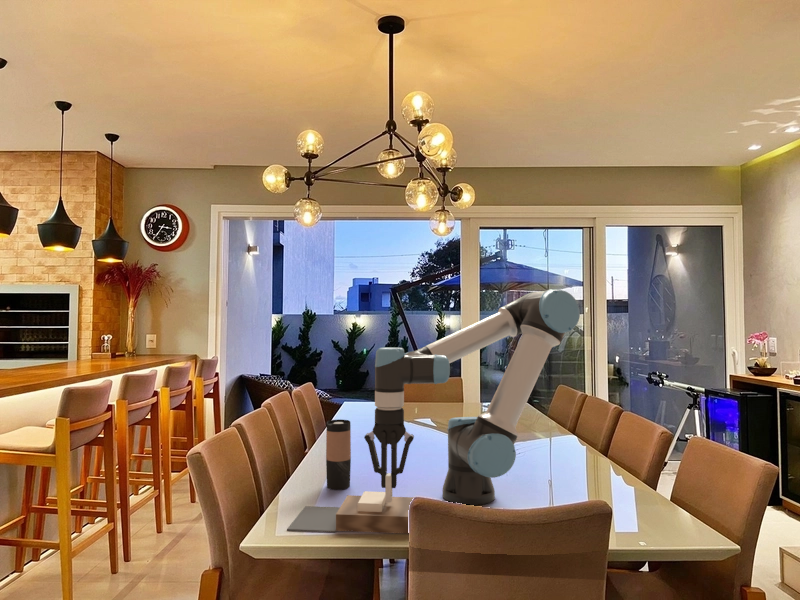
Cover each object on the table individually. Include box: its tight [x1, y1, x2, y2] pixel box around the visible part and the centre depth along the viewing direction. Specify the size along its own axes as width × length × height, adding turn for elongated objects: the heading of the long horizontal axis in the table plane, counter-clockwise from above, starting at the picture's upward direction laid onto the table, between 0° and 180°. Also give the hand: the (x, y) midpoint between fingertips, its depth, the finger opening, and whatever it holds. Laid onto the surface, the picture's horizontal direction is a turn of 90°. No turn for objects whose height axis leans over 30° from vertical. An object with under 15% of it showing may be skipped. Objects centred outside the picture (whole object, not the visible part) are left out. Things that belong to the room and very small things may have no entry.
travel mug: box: [325, 419, 352, 491], centre depth 161 cm, size 8×8×20 cm
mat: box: [286, 505, 341, 534], centre depth 134 cm, size 12×16×1 cm
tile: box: [358, 490, 385, 512], centre depth 133 cm, size 6×9×2 cm, turn 174°
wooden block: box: [336, 494, 415, 535], centre depth 132 cm, size 20×14×4 cm
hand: (388, 500), depth 132 cm, fingers closed
